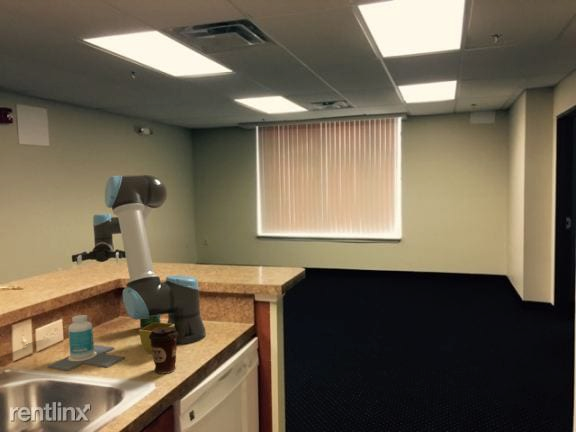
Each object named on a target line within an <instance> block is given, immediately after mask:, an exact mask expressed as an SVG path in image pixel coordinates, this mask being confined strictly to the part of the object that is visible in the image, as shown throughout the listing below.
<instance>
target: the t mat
mask: <svg viewBox="0 0 576 432" xmlns="http://www.w3.org/2000/svg"><path fill="white" fill-rule="evenodd" d="M113 350H115V347H114V346H107V345H101V344H94V353H93V355H91V356H89V357H87V358H82V359H73V358H71V356H70V355H68V356H66V357H64V358H62V359H59V360H57V361H54V362H53V363H50V364H48V365H47V368H49V369H54V370H55V369H56V370H61V371H67V372H69V371H71V370H74V369H75V368H78V367H80V366H82V365H89V366H96V367H101V368H109V367H111V366H112V365H113V366H114V365H115V364H117V363H119V362H120V361H122V360H124V359H125V358H126V357H125V356H124V355H123V356H122V355H115V354H108V352H112V351H113Z"/></svg>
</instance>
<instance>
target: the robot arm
mask: <svg viewBox="0 0 576 432" xmlns="http://www.w3.org/2000/svg"><path fill="white" fill-rule="evenodd" d="M167 197H168V189H167V187H166V185H165V183H164V182H163V181H162V179H160V178H159V177H157V176H155V175H150V174H143V175H141V174H140V175H139V174H137V175H136V174H135V175H133V174H132V175H131V174H129V175H122V174H121V175H114V176H113V175H112V176H109V178H108V179H107V180H106V183H105V189H104V203H105V206H106V208H109V209H112V214H113V215H115V216H112V214H111V213H97V214H94V215H93V217H92V219H93V220H92V221H93V222H92V225H93V226H92V227H93V237H94V238H93V239H94V240H93V241H94V247H93V248H92V250H90V251H89V252H88V251H83V252H80V253H76V254H72V255H71V262H72V263H75V262H76V264H77V266H78V265H81V264H82V262H83V261H84V262H85V261H88V260H91V261H93V260H95V261H96V262H99V263H104V262H105V263H106V262H107V261H108V260H110V259H115V261H116V262H117V263H118V262H119V260H120V259H125V260H126V265H127V266H126V267H127V270H128V275H129V279H128V281H126V287H125V288H124V289H123V290H122V302H123V305H124V307H125V311H126V313H127V315H128V316H129V317H130V318H131V319H133V320H140V319H147V318H149V317H154V316H159V315H160V316H163V315H167V316H168V318H167V319H168V320H167V323H168V324H174V328H175V331H177V332H178V337H177V342H176V345H183V344H189V343H190V344H191V343H196V342H199V341H201V340H203V339H204V338H206V336H207V333H206V332H207V331H206V327H205V325H204V322H203V319H202V317H201V308H200V287H199V286H200V285H199V281H198V279H197V277H194V276H189V275H168V276H166V278H165V281H161V279H160V276H159V275H158V274H157V273H155V271H154V266H153V260H152V255H151V250H150V246H149V240H148V236H147V231H146V225H147V223H146V222H147V221H146V220H147V219H148V218H149V217H150V216H151V215H152V213H153V212H154V211H155V210H156V209H158V208H160V207H161V206H163V204H165V202H166V200H167ZM117 234H118V235H119V234H121V239H122V244H123V250H120V249H118V248H117V249H115V248H114V244H113V243H114V242H113V235H117ZM114 249H115V250H114Z"/></svg>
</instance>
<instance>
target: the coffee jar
mask: <svg viewBox="0 0 576 432" xmlns="http://www.w3.org/2000/svg"><path fill="white" fill-rule="evenodd" d="M155 322H156V323H162V322H161V315H159V316H154V317H149V318H147V319H139V323H140V324H139V325H140V327H139V328H140V329H142V328H144V327H146V326H148V325H150V324H152V323H155Z"/></svg>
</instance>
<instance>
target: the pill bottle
mask: <svg viewBox="0 0 576 432" xmlns="http://www.w3.org/2000/svg"><path fill="white" fill-rule="evenodd" d="M71 321H72V323H70V324H69V326H68V330H67V331H68V341H69V343H68V344H69V356H71V358H73V359H82V358H87V357H89V356H91V355H93V353H94V345H95V344H94V331H93V329H94V328H93V324H92V322H90V321H88V315H87V314H78V315H74V316H72V318H71Z"/></svg>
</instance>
